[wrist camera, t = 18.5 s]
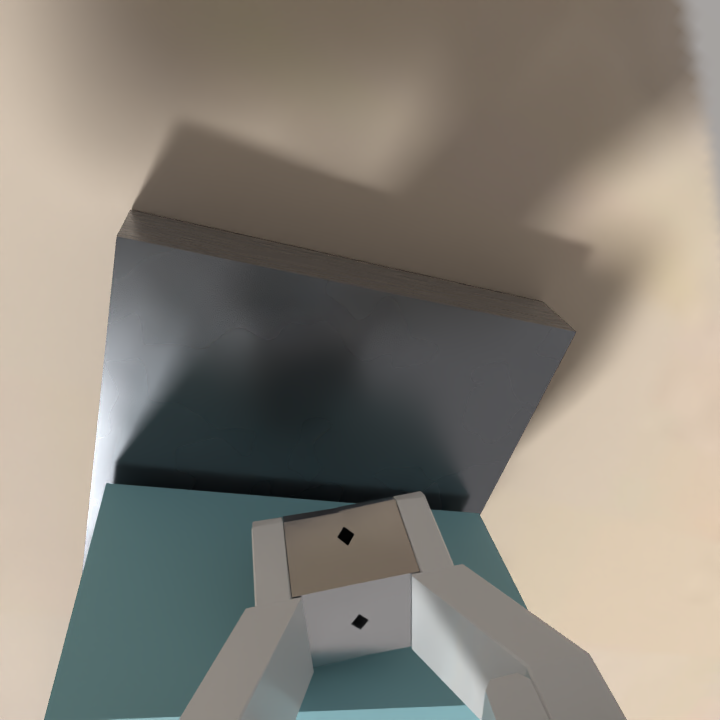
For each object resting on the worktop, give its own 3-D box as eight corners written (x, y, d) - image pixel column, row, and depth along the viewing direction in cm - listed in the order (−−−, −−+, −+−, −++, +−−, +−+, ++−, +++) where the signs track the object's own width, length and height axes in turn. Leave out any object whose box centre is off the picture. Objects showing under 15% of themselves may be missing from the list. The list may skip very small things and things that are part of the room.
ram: (436, 595, 15) (505, 787, 11) (94, 585, 12) (35, 833, 9) (479, 513, 14) (574, 700, 10) (106, 483, 11) (43, 722, 7)
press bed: (334, 732, 21) (368, 956, 16) (70, 746, 18) (10, 1022, 13) (542, 301, 13) (737, 478, 8) (130, 210, 10) (36, 390, 5)
